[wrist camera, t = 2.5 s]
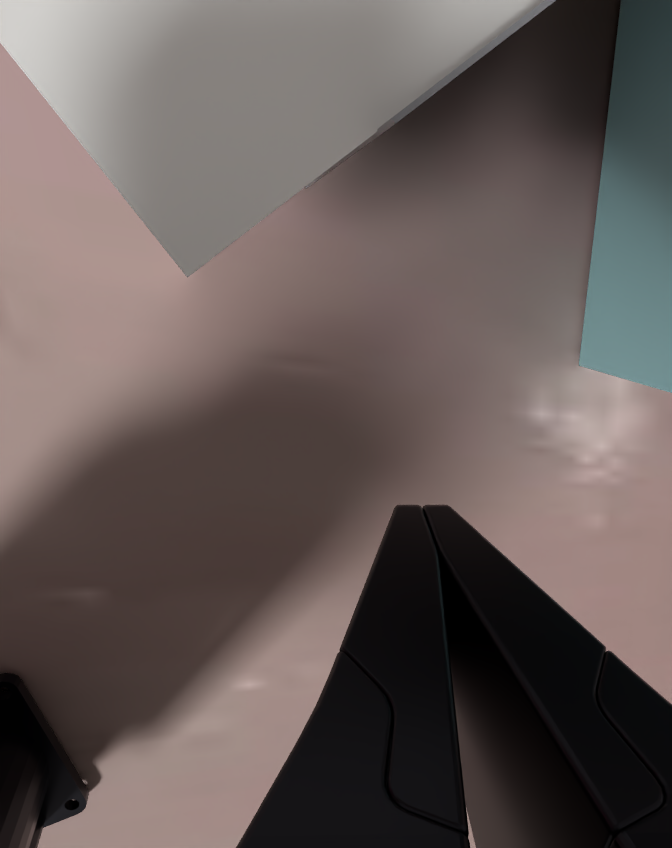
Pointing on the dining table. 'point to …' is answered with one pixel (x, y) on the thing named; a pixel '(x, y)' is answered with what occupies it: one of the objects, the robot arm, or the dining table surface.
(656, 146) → the hatch
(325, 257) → the dining table surface
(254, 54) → the case
